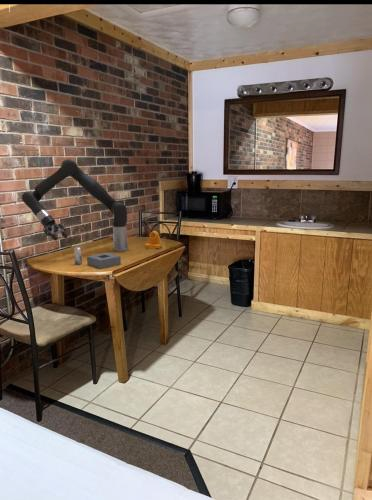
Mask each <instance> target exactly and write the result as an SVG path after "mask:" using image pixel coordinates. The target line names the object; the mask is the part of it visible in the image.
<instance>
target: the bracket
mask: <svg viewBox="0 0 372 500" xmlns="http://www.w3.org/2000/svg"><path fill="white" fill-rule="evenodd" d="M148 235H149V238H148V240H147V243H145V244H144V248H147V249H148V248H149V249H150V250H151V249H152V250H156V249H160V248H162V247H163V242H162V240H161V237H160V234H159V232H158V231H156V230H152V231H150V232H149V234H148Z"/></svg>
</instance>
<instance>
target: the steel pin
mask: <svg viewBox="0 0 372 500" xmlns="http://www.w3.org/2000/svg"><path fill="white" fill-rule="evenodd" d="M73 252H74V265H76V266H80V265H83V257H82V247H80V246H75V247H74V248H73Z"/></svg>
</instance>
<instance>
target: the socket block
mask: <svg viewBox="0 0 372 500" xmlns="http://www.w3.org/2000/svg"><path fill="white" fill-rule="evenodd" d="M121 257H122V256H121V255H116V254H114V253H110V252H104V253H98V254H93V255H92V254H91V255H87V256H86V258H87V265H88V266H91V267H95V268H98V269H101V270H102V268H103V269H106V268H111V267H114V266H115V265H116V266H119V264H120V265H122V263H121V261H122V260H121ZM116 266H115V267H116Z"/></svg>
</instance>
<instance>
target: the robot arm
mask: <svg viewBox="0 0 372 500" xmlns="http://www.w3.org/2000/svg"><path fill="white" fill-rule="evenodd" d="M68 177H71V178H72V179H74V180H75V181H76V182H77V183H78V184H79V185H80V186H81V187H82V188H83V189H84V190H85V192H86V193H88V194H89V195H90V196H91V197H92V198H95V200H97V201H99V203H101V204H102V205H104V207H106V208H107V209H108V210H109V211H110V213H111V214H114V215H113V216H114V218H113V222H112V236H113V238H112V241H113V252H119V253H120V252H121V253H122V252H127V251H128V250H129V237H128V236H127V234H128V233H127V232H128V231H127V223H128V209H127V206H126V205H125V204H124V203H121V202H119V201H117V200H116V199H114V198H113V197H112V196H111V195H110V193H109V192H108V191H107V190H106V188H104V187H103V185H101V184H100V183H99V182H98V181H97V180H96V179H94V178H93V177H92V176H89V175H88V174H87V173H85V172H84V171H83V170H82V169H81V168H80V167H79V166H78V164H77V162H76V161H74V160H73V159H69V158H68V159H64V160H63V161H62V162H61V166H60V167H59V169H57V170H56V171H55V172H54V173H52V174H51V175H49V176H48V177H46V178H45V179H43V180H42V181H40V183H38V184H37V185H36V186H35V187H34V191H33V192H30V191H25V192H23V193H22V194H21V200H22V201H23V203H24V204H25V205H26V207H28V208H29V209H30V210H31V212H32V214H34V216H35V217H36V218H37V220H38V221H39V223H40V224H41V225H42V226H43V227H42V230H43V232H44V233H45V235H46V236H47V237H51V238H52V239H53V241H55V242H56V241H58V240H59V238H58V237H57V236H56V234H55V233H59V234H61V235H62V236H63V238H64V239H67V238H68V237H69V236H68V234H67V233H66V231H67V229H66V228H65V226H64V225H63V224H62V223H58V224H57V223H56V219H55V218H53V216H52V215H51V214H50V212H49V211H48V210H47V209H46V208H45V207H44V205H42V204H41V203H40V201H41V200H42V198H43V197H44V196H45V195H47V193H49V192H50V191H52V189H53V188H55V187H56V186H57V185H58V184H59V183H61V182H62V181H64V180H65V179H67V178H68Z"/></svg>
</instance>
